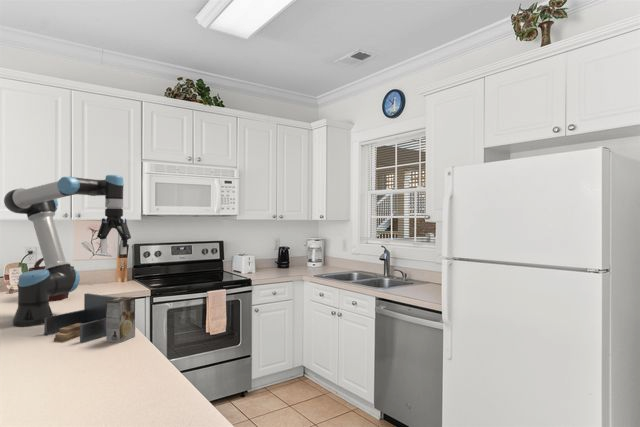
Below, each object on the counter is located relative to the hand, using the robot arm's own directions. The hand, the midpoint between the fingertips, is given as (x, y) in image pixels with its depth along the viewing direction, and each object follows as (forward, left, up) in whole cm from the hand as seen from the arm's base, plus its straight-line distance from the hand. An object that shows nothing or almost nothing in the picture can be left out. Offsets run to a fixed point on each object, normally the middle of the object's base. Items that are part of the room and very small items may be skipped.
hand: (113, 253), depth 191 cm
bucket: (-76, +17, -32) cm, 84 cm away
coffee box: (+28, -18, -32) cm, 46 cm away
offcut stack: (+7, -24, -32) cm, 41 cm away
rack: (+7, -18, -32) cm, 37 cm away
